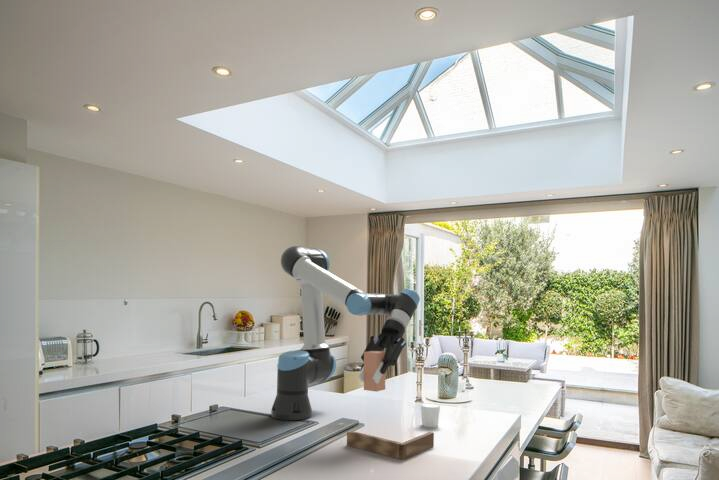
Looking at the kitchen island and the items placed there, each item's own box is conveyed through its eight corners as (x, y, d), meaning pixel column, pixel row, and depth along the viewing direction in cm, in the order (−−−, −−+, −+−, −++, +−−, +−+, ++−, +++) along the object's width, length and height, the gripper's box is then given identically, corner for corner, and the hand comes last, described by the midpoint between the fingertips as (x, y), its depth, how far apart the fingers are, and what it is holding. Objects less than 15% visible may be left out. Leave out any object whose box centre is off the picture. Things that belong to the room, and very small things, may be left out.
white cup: (439, 428, 180) (439, 407, 181) (419, 426, 181) (419, 406, 182) (440, 423, 187) (440, 403, 187) (421, 422, 188) (421, 402, 189)
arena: (346, 445, 158) (347, 431, 158) (379, 433, 171) (379, 421, 172) (403, 459, 145) (403, 445, 145) (433, 446, 159) (433, 432, 159)
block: (363, 389, 166) (363, 352, 167) (372, 387, 170) (372, 350, 171) (376, 391, 163) (376, 353, 164) (385, 389, 167) (385, 351, 168)
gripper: (422, 334, 175) (396, 390, 160) (378, 331, 186) (350, 384, 171) (414, 318, 171) (386, 375, 156) (370, 317, 182) (340, 369, 167)
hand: (367, 379), depth 163 cm, fingers closed on block, 5 cm apart
